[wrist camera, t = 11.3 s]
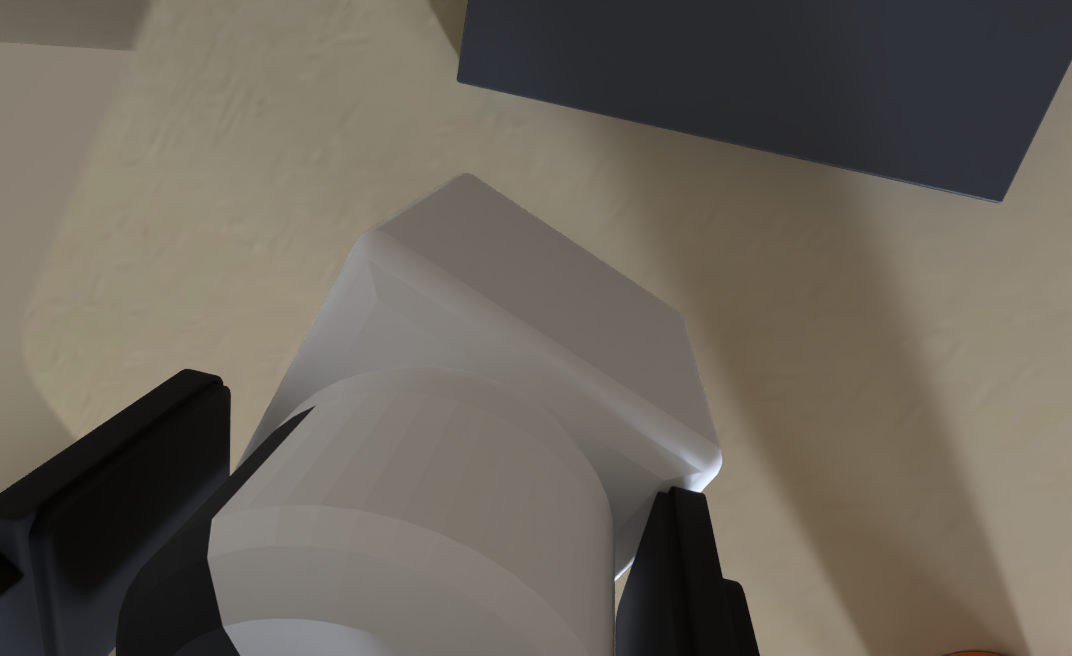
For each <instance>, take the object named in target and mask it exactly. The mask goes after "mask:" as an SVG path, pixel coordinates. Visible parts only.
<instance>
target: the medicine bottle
mask: <svg viewBox="0 0 1072 656" xmlns="http://www.w3.org/2000/svg"><path fill="white" fill-rule="evenodd" d="M721 465H722V455H721V450H720V446H719V442H718V439H717V435H716V431H715V428H714V424H713V421H712V417H711V413H710V410H709V406H708V403H707V399H706V395H705V392H704V388H703V385H702V381H701V377H700V374H699V370H698V367H697V363H696V359H695V356H694V352H693V349H692V345H691V341H690V338H689V334H688V330H687V327H686V323H685V320H684V317H683V316H682V315H681V314H680V313H679V312H678V311H676V310H675V309H673V308H672V307H670V306H669V305H667V304H666V303H664V302H663V301H661V300H660V299H658V298H657V297H655V296H654V295H652V294H651V293H649V292H648V291H646V290H645V289H643V288H642V287H640V286H639V285H637V284H636V283H634V282H633V281H631V280H630V279H628V278H627V277H625V276H624V275H622V274H621V273H619V272H618V271H616V270H615V269H613V268H612V267H610V266H609V265H607V264H606V263H604V262H603V261H601V260H600V259H598V258H597V257H595V256H594V255H592V254H591V253H589V252H588V251H586V250H585V249H583V248H582V247H580V246H579V245H577V244H576V243H574V242H573V241H571V240H570V239H568V238H567V237H565V236H564V235H562V234H561V233H559V232H558V231H556V230H555V229H553V228H552V227H550V226H549V225H547V224H546V223H544V222H543V221H541V220H540V219H538V218H537V217H535V216H534V215H532V214H531V213H529V212H528V211H526V210H525V209H523V208H522V207H520V206H519V205H517V204H516V203H514V202H513V201H511V200H510V199H508V198H507V197H505V196H504V195H502V194H501V193H499V192H498V191H496V190H495V189H493V188H492V187H490V186H489V185H487V184H486V183H484V182H483V181H481V180H480V179H478V178H477V177H475V176H474V175H471V174H468V173H462V174H458V175H456V176H455V177H453V178H451V179H450V180H448V181H447V182H445V183H443V184H442V185H440V186H438V187H437V188H435V189H434V190H432V191H430V192H429V193H427V194H425V195H424V196H422V197H421V198H419V199H417V200H416V201H414V202H412V203H411V204H409V205H407V206H406V207H404V208H403V209H401V210H399V211H398V212H396V213H394V214H393V215H391V216H390V217H388V218H386V219H385V220H383V221H381V222H380V223H378V224H377V225H375V226H373V227H372V228H370V229H368V230H367V231H365V232H364V233H363V234H362V235H361V236H360V237H359V238H358V239H357V240H356V242H355V244H354V246H353V248H352V250H351V252H350V253H349V255H348V257H347V259H346V261H345V263H344V265H343V267H342V269H341V270H340V272H339V274H338V276H337V278H336V280H335V282H334V284H333V286H332V287H331V289H330V291H329V293H328V295H327V297H326V299H325V301H324V302H323V304H322V306H321V308H320V310H319V312H318V314H317V316H316V318H315V319H314V321H313V323H312V325H311V327H310V329H309V331H308V333H307V335H306V336H305V338H304V340H303V342H302V344H301V346H300V348H299V350H298V352H297V353H296V355H295V357H294V359H293V361H292V363H291V365H290V367H289V369H288V370H287V372H286V374H285V376H284V378H283V380H282V382H281V384H280V386H279V387H278V389H277V391H276V393H275V395H274V397H273V399H272V401H271V403H270V404H269V406H268V408H267V410H266V412H265V414H264V416H263V418H262V420H261V421H260V423H259V425H258V427H257V429H256V431H255V433H254V435H253V437H252V438H251V440H250V442H249V444H248V446H247V448H246V450H245V452H244V454H243V455H242V457H241V459H240V461H239V463H238V465H237V467H236V469H235V470H234V472H233V474H232V475H231V476H230V477H229V478H228V479H227V480H226V481H225V482H224V483H223V484H222V485H221V486H220V487H219V488H218V489H217V490H216V491H215V492H214V493H213V494H212V495H211V496H210V498H209V499H208V500H207V501H206V502H205V503H204V504H203V505H202V506H201V507H200V508H199V509H198V510H197V511H196V512H195V513H194V514H193V515H192V516H191V517H190V518H189V519H188V520H187V521H186V522H185V523H184V524H183V525H182V526H181V527H180V528H179V530H178V531H177V532H176V533H175V534H174V535H173V536H172V537H171V538H170V539H169V540H168V541H167V542H166V543H165V544H164V545H163V546H162V547H161V548H160V549H159V550H158V551H157V552H156V553H155V554H154V555H153V556H152V557H151V558H150V559H149V560H148V562H147V563H146V564H145V565H144V566H143V567H142V568H141V569H140V571H139V572H138V574H137V575H136V577H135V579H134V580H133V582H132V583H131V585H130V587H129V588H128V590H127V593H126V595H125V598H124V601H123V604H122V607H121V609H120V612H119V618H118V626H117V633H116V656H614V648H615V581H616V580H617V579H618V578H619V576H620V575H621V574H622V573H623V572H624V571H625V570H626V569H627V568H628V567H629V566H630V565H631V564H632V563H633V561H634V559H635V556H636V553H637V550H638V547H639V544H640V541H641V538H642V535H643V532H644V529H645V526H646V523H647V520H648V517H649V515H650V512H651V509H652V506H653V503H654V500H655V497H656V495H657V493H658V492H659V491H660V492H664V493H668V491H669V489H670V488H671V487H672V486H675V487H679V488H683V489H687V490H691V491H695V492H701V491H702V490H703V489H704V488H705V487H706V486H707V485H708V484H709V482H710V481H711V480H712V479H713V478H714V477H715V476H716V475H717V474H718V472H719V470H720V468H721Z"/></svg>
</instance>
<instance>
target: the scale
mask: <svg viewBox="0 0 1072 656" xmlns="http://www.w3.org/2000/svg"><path fill="white" fill-rule="evenodd" d="M1071 61H1072V0H468V4H467V11H466V18H465V25H464V32H463V39H462V46H461V53H460V60H459V67H458V74H457V81H458V82H459V83H463V84H468V85H472V86H477V87H481V88H486V89H490V90H495V91H499V92H504V93H508V94H512V95H517V96H521V97H526V98H530V99H535V100H539V101H544V102H548V103H553V104H557V105H561V106H566V107H570V108H575V109H579V110H584V111H588V112H593V113H597V114H602V115H606V116H610V117H615V118H619V119H624V120H628V121H633V122H637V123H642V124H646V125H651V126H655V127H660V128H664V129H668V130H673V131H677V132H682V133H686V134H691V135H695V136H700V137H704V138H709V139H713V140H717V141H722V142H726V143H731V144H735V145H740V146H744V147H749V148H753V149H758V150H762V151H767V152H771V153H775V154H780V155H784V156H789V157H793V158H798V159H802V160H807V161H811V162H816V163H820V164H824V165H829V166H833V167H838V168H842V169H847V170H851V171H856V172H860V173H865V174H869V175H874V176H878V177H882V178H887V179H891V180H896V181H900V182H905V183H909V184H914V185H918V186H923V187H927V188H931V189H936V190H940V191H945V192H949V193H954V194H958V195H963V196H967V197H972V198H976V199H980V200H985V201H989V202H994V203H1001V202H1002V201H1003V199H1004V197H1005V195H1006V193H1007V191H1008V189H1009V187H1010V185H1011V183H1012V181H1013V179H1014V177H1015V175H1016V173H1017V171H1018V168H1019V166H1020V164H1021V162H1022V160H1023V158H1024V156H1025V154H1026V152H1027V150H1028V148H1029V146H1030V144H1031V142H1032V140H1033V138H1034V136H1035V134H1036V132H1037V130H1038V128H1039V126H1040V124H1041V122H1042V120H1043V118H1044V116H1045V114H1046V112H1047V110H1048V107H1049V105H1050V103H1051V101H1052V99H1053V97H1054V95H1055V93H1056V91H1057V89H1058V87H1059V85H1060V83H1061V81H1062V79H1063V77H1064V75H1065V73H1066V71H1067V69H1068V67H1069V65H1070V63H1071Z"/></svg>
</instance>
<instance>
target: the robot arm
mask: <svg viewBox="0 0 1072 656" xmlns="http://www.w3.org/2000/svg"><path fill="white" fill-rule="evenodd" d="M230 409H231V394H230V389H229V388H228V387H227V386H223V381H222V379H221V378H220V377H219V376H217V375H212V374H208V373H204V372H200V371H196V370H192V369H184V370H182V371H180V372H179V373H177V374H176V375H174V376H173V377H171V378H170V379H168V380H167V381H165V382H164V383H162V384H161V385H159V386H158V387H156V388H155V389H153V390H152V391H151V392H149V393H148V394H146V395H145V396H143V397H142V398H140V399H139V400H137V401H136V402H134V403H133V404H131V405H130V406H128V407H127V408H125V409H124V410H122V411H121V412H119V413H118V414H116V415H115V416H114V417H112V418H111V419H109V420H108V421H106V422H105V423H103V424H102V425H100V426H99V427H97V428H96V429H94V430H93V431H91V432H90V433H88V434H87V435H85V436H84V437H82V438H81V439H79V440H78V441H77V442H75V443H74V444H72V445H71V446H69V447H68V448H66V449H65V450H63V451H62V452H60V453H59V454H57V455H56V456H54V457H53V458H52V459H50V460H48V461H47V462H46V463H44V464H43V465H41V466H40V467H38V468H37V469H35V470H34V471H32V472H31V473H29V474H28V475H26V476H25V477H23V478H22V479H20V480H19V481H17V482H16V483H15V484H13V485H11V486H10V487H9V488H7V489H6V490H4V491H3V492H1V493H0V656H108V655H109V653H110V652H111V651H112V650H113V649H114V648H115V647H116V633H117V626H118V618H119V612H120V609H121V607H122V604H123V601H124V598H125V595H126V593H127V590H128V588H129V587H130V585H131V583H132V582H133V580H134V579H135V577H136V575H137V574H138V572H139V571H140V569H141V568H142V567H143V566H144V565H145V564H146V563H147V562H148V560H149V559H150V558H151V557H152V556H153V555H154V554H155V553H156V552H157V551H158V550H159V549H160V548H161V547H162V546H163V545H164V544H165V543H166V542H167V541H168V540H169V539H170V538H171V537H172V536H173V535H174V534H175V533H176V532H177V531H178V530H179V528H180V527H181V526H182V525H183V524H184V523H185V522H186V521H187V520H188V519H189V518H190V517H191V516H192V515H193V514H194V513H195V512H196V511H197V510H198V509H199V508H200V507H201V506H202V505H203V504H204V503H205V502H206V501H207V500H208V499H209V498H210V496H211V495H212V494H213V493H214V492H215V491H216V490H217V489H218V488H219V487H220V486H221V485H222V484H223V483H224V482H225V481H226V480H227V479H228V478H229V477H230ZM615 656H760V654H759V650H758V646H757V642H756V638H755V634H754V630H753V626H752V622H751V618H750V614H749V610H748V606H747V601H746V597H745V593H744V591H743V588H742V586H741V585H740V584H739V583H738V582H736V581H732V580H728V579H724V578H723V577H722V572H721V567H720V562H719V557H718V553H717V548H716V543H715V538H714V534H713V529H712V524H711V519H710V515H709V510H708V505H707V500H706V497H705V495H704V494H703V493H700V492H695V491H691V490H687V489H683V488H679V487H675V486H672V487H671V488H670V489H669V491H668V493H664V492H660V491H659V492H658V493H657V495H656V497H655V500H654V503H653V506H652V509H651V512H650V515H649V517H648V520H647V523H646V526H645V529H644V532H643V535H642V538H641V541H640V544H639V547H638V550H637V553H636V556H635V559H634V561H633V564H632V567H631V570H630V573H629V576H628V579H627V582H626V585H625V588H624V591H623V594H622V597H621V600H620V603H619V606H618V610H617V616H616V634H615Z"/></svg>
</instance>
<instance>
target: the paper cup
mask: <svg viewBox="0 0 1072 656" xmlns="http://www.w3.org/2000/svg"><path fill="white" fill-rule="evenodd" d="M946 656H1003V655H999V654H994V653H988V652H961V653H955V654H950V655H946Z"/></svg>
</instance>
